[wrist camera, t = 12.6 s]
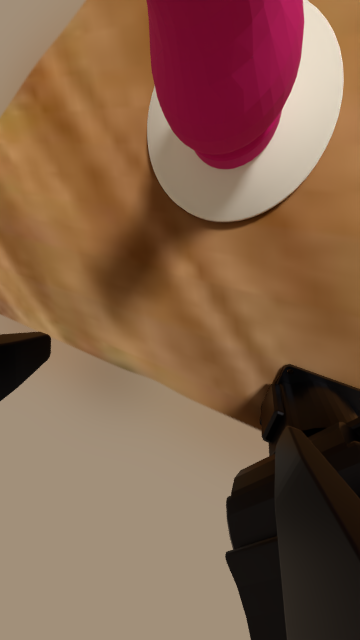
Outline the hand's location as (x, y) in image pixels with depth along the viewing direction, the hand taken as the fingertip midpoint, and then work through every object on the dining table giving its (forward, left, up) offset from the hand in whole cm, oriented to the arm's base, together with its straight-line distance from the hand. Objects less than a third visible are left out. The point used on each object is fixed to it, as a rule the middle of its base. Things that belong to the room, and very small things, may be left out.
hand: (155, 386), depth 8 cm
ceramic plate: (+3, -13, -13) cm, 19 cm away
